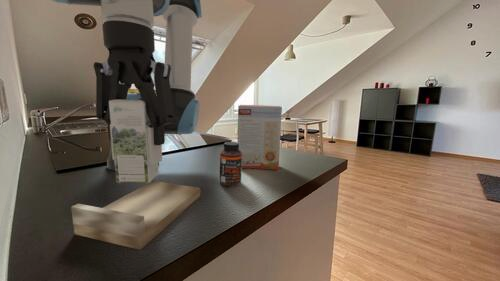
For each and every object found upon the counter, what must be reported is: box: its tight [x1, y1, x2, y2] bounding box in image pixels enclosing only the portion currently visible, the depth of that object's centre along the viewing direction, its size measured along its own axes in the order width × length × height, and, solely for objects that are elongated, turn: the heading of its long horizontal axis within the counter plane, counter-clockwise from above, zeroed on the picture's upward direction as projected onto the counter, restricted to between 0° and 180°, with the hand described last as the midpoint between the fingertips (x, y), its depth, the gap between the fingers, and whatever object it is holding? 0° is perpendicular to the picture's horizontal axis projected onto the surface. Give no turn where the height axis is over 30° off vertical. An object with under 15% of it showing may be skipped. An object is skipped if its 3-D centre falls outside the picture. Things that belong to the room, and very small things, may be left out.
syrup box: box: [109, 99, 160, 184], centre depth 41 cm, size 6×6×14 cm
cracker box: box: [237, 104, 283, 171], centre depth 75 cm, size 14×6×21 cm, turn 84°
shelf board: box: [70, 180, 201, 250], centre depth 45 cm, size 13×20×5 cm, turn 166°
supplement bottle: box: [219, 141, 243, 187], centre depth 61 cm, size 6×6×11 cm
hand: (137, 159), depth 41 cm, fingers closed on syrup box, 7 cm apart
